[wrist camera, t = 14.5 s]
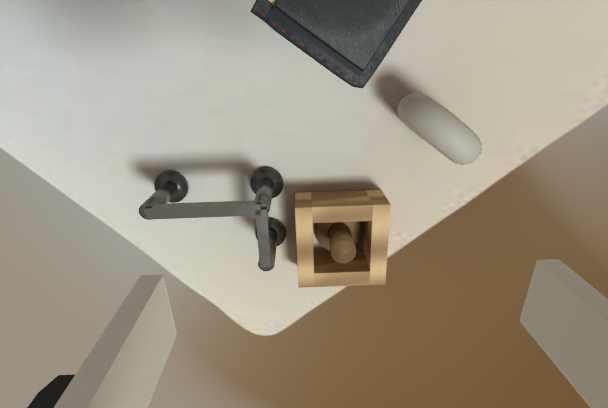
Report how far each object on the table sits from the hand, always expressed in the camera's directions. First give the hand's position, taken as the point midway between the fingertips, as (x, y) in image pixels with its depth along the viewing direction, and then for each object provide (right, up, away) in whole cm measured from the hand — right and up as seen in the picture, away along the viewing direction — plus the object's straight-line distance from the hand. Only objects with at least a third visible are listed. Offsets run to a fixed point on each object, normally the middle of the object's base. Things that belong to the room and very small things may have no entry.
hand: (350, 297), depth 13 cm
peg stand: (+3, 0, +35) cm, 35 cm away
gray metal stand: (-12, +3, +33) cm, 36 cm away
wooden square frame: (+3, 0, +35) cm, 35 cm away
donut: (+12, +13, +29) cm, 35 cm away
